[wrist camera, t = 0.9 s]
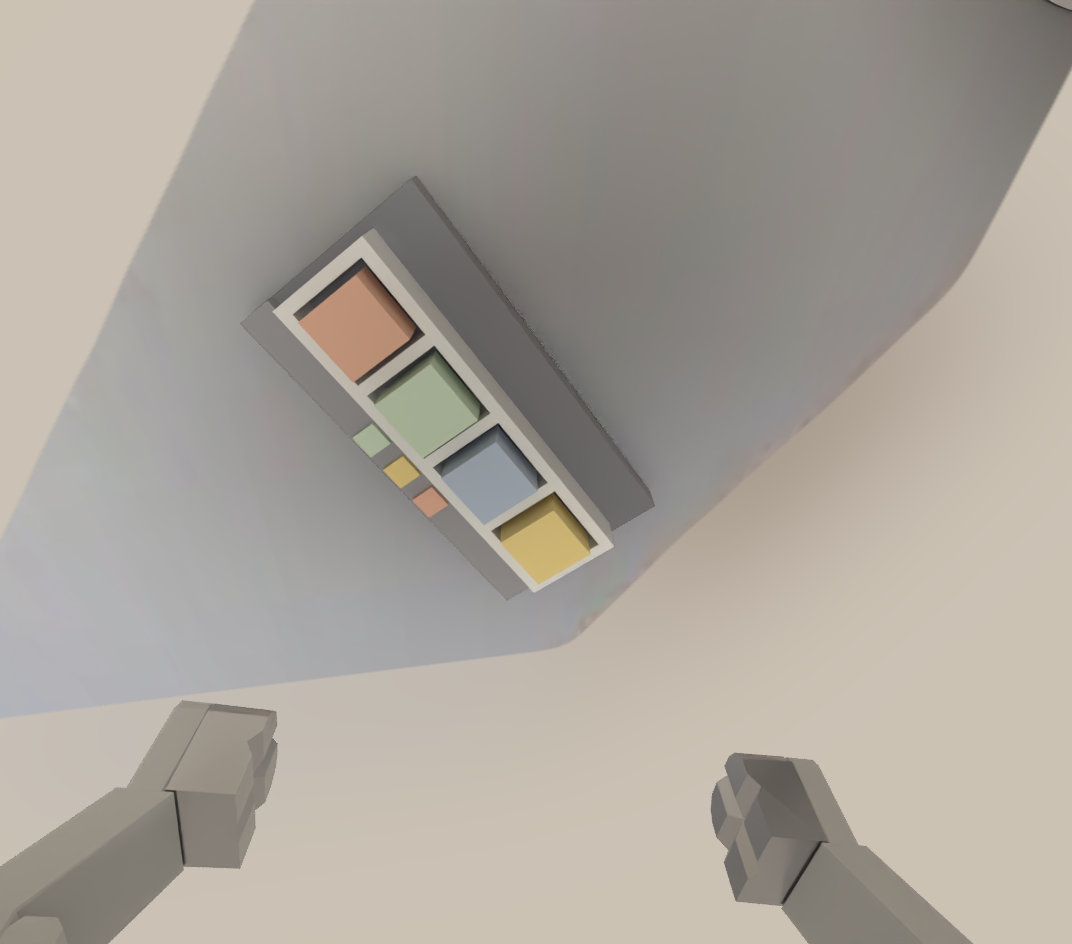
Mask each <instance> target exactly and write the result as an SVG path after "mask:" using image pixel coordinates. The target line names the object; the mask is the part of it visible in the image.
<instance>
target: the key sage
mask: <svg viewBox="0 0 1072 944" xmlns="http://www.w3.org/2000/svg"><path fill="white" fill-rule="evenodd" d="M374 406H375V407H376V408H377V409H378V411H379V412H380V413H381V414H382V415H383V416H384V417H385V418H386V419H387V420H388V421H389V422H390V424H391V425H392V426H393V427H394V428H395V429H396V430H397V431H398V432H399V433H400V434H401V436H402V437H403V438H404V439H405V440H406V441H407V442H408V443H409V444H410V445H411V446H412V448H413V449H414V450H415V451H416V452H417V453H418V454H419V455H420V456H421V457H422V458H424V457H425V456H427V455H428V454H430V453H431V452H433V451H434V450H436V449H437V448H438V447H440V446H441V445H443V444H444V443H446V442H447V441H449V440H450V439H451V438H453V437H454V436H456V435H457V434H459V433H460V432H462V431H463V430H465V429H466V428H467V427H469V426H470V425H472V424H473V423H475V422H476V421H478V416H479V410H480V403H479V402H478V401H477V400H476V398H475V397H474V396H473V395H472V394H471V392H470V391H469V390H468V389H467V388H466V386H465V385H464V384H463V383H462V382H461V380H460V379H459V378H458V377H457V375H456V374H455V373H454V372H453V371H452V369H451V368H450V367H449V366H448V365H447V363H446V362H445V361H444V360H443V359H442V357H441V356H440V355H439V354H438V353H437V351H435V352H433V353H432V354H431V355H429V356H428V357H427V358H425V359H424V360H423V361H421V362H420V363H419V364H417V365H416V366H415V367H413V368H412V369H411V370H409V371H408V372H407V373H405V374H404V375H402V376H401V377H400V378H398V379H397V380H396V381H394V382H393V383H392V384H390V385H389V386H388V387H386V388H385V389H384V390H382V392H381V394H380V396H379V398H378V400H377V401H376V403H375V405H374Z"/></svg>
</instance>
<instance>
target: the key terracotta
mask: <svg viewBox="0 0 1072 944" xmlns="http://www.w3.org/2000/svg"><path fill="white" fill-rule="evenodd" d="M298 323H299V324H300V326H301V327H302V328H303V329H304V330H305V331H306V332H307V333H308V334H309V335H310V336H311V338H312V339H313V340H314V341H315V342H316V343H317V344H318V345H319V346H320V347H321V348H322V350H323V351H324V352H325V353H326V354H327V355H328V356H329V357H330V358H331V359H332V360H333V362H334V363H335V364H336V365H337V366H338V367H339V368H340V369H341V370H342V371H343V372H344V373H345V375H346V376H347V377H348V378H349V379H350V380H351V381H352V382H355V381H356V380H357V379H359V378H360V377H361V376H363V375H364V374H365V373H367V372H368V371H369V370H370V369H372V368H373V367H374V366H376V365H377V364H378V363H380V362H381V361H382V360H384V359H385V358H386V357H388V356H389V355H390V354H392V353H393V352H394V351H395V350H397V349H398V348H399V347H401V346H402V345H403V344H405V343H406V342H407V341H409V340H410V338H411V336H412V335H413V333H414V331H415V329H416V326H415V325H414V324H413V322H412V321H411V320H410V319H409V318H408V316H407V315H406V314H405V313H404V311H403V310H402V309H401V308H400V307H399V305H398V304H397V303H396V302H395V301H394V299H393V298H392V297H391V296H390V295H389V293H388V292H387V291H386V290H385V289H384V287H383V286H382V285H381V284H380V283H379V281H378V280H377V279H376V278H375V276H374V275H373V274H372V273H371V272H370V270H369V269H368V268H367V267H366V266H365V267H364V268H363V269H362V270H361V271H359V272H358V273H357V274H356V275H354V276H353V277H352V278H351V279H350V280H348V281H347V282H346V283H345V284H344V285H342V286H341V287H340V288H339V289H337V290H336V291H335V292H334V293H333V294H331V295H330V296H329V297H328V298H327V299H325V300H324V301H323V302H322V303H320V304H319V305H318V306H317V307H316V308H314V309H313V310H312V311H311V312H310V313H308V314H307V315H306V316H305V317H304V318H303V319H302V320H300V321H299V322H298Z"/></svg>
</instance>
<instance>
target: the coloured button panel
mask: <svg viewBox="0 0 1072 944" xmlns="http://www.w3.org/2000/svg"><path fill="white" fill-rule="evenodd" d="M365 266H366V267H367V268H368V269H369V270H370V272H371V273H372V274H373V275H374V276H375V278H376V279H377V280H378V281H379V283H380V284H381V285H382V286H383V287H384V289H385V290H386V291H387V292H388V293H389V295H390V296H391V297H392V298H393V299H394V301H395V302H396V303H397V304H398V305H399V307H400V308H401V309H402V310H403V311H404V313H405V314H406V315H407V316H408V318H409V319H410V320H411V321H412V322H413V324H414V325H415V326H416V329H415V331H414V333H413V335H412V336H411V338H410V340H409V341H407V342H406V343H405V344H403V345H402V346H401V347H399V348H398V349H397V350H395V351H394V352H393V353H392V354H390V355H389V356H388V357H386V358H385V359H384V360H382V361H381V362H380V363H378V364H377V365H376V366H374V367H373V368H372V369H370V370H369V371H368V372H367V373H365V374H364V375H363V376H361V377H360V378H359V379H357V380H356V381H355V382H352V381H351V380H350V379H349V378H348V377H347V376H346V375H345V373H344V372H343V371H342V370H341V369H340V368H339V367H338V366H337V365H336V364H335V363H334V362H333V360H332V359H331V358H330V357H329V356H328V355H327V354H326V353H325V352H324V351H323V350H322V348H321V347H320V346H319V345H318V344H317V343H316V342H315V341H314V340H313V339H312V338H311V336H310V335H309V334H308V333H307V332H306V331H305V330H304V329H303V328H302V327H301V326H300V324H299V323H298V322H299V321H300V320H302V319H303V318H304V317H305V316H306V315H307V314H308V313H310V312H311V311H312V310H313V309H314V308H316V307H317V306H318V305H319V304H320V303H322V302H323V301H324V300H325V299H327V298H328V297H329V296H330V295H331V294H333V293H334V292H335V291H336V290H337V289H339V288H340V287H341V286H342V285H344V284H345V283H346V282H347V281H348V280H350V279H351V278H352V277H353V276H354V275H356V274H357V273H358V272H359V271H361V270H362V269H363V268H364V267H365ZM240 324H241V325H242V326H243V327H244V328H245V329H246V331H247V332H248V333H249V334H250V335H251V336H252V337H253V338H254V339H255V340H256V341H257V342H258V343H259V344H260V345H261V346H262V347H263V348H264V349H265V350H266V351H267V352H268V353H269V354H270V355H271V356H272V357H273V358H274V360H275V361H276V362H277V363H278V364H279V365H280V366H281V367H282V368H283V369H284V370H285V371H286V372H287V373H288V374H289V375H290V376H291V377H292V378H293V379H294V380H295V381H296V382H297V383H298V384H299V385H300V386H301V388H302V389H303V390H304V391H305V392H306V393H307V394H308V395H309V396H310V397H311V398H312V399H313V400H314V401H315V402H316V403H317V404H318V405H319V406H320V407H321V408H322V409H323V410H324V411H325V412H326V413H327V414H328V415H329V417H330V418H331V419H332V420H333V421H334V422H335V423H336V424H337V425H338V426H339V427H340V428H341V429H342V430H343V431H344V432H345V433H346V434H347V435H348V436H349V437H350V438H351V439H352V440H353V441H354V442H355V443H356V445H357V446H358V447H359V448H360V449H361V450H362V451H363V452H364V453H365V454H366V455H367V456H368V457H369V458H370V459H371V460H372V461H373V462H374V463H375V464H376V465H377V466H378V467H379V468H380V469H381V470H382V471H383V472H384V474H385V475H386V476H387V477H388V478H389V479H390V480H391V481H392V482H393V483H394V484H395V485H396V486H397V487H398V488H399V489H400V490H401V491H402V492H403V493H404V494H405V495H406V496H407V497H408V498H409V499H410V500H411V502H412V503H413V504H414V505H415V506H416V507H417V508H418V509H419V510H420V511H421V512H422V513H423V514H424V515H425V516H426V517H427V518H428V519H429V520H430V521H431V522H432V523H433V524H434V525H435V526H436V527H437V528H438V530H439V531H440V532H441V533H442V534H443V535H444V536H445V537H446V538H447V539H448V540H449V541H450V542H451V543H452V544H453V545H454V546H455V547H456V548H457V549H458V550H459V551H460V552H461V553H462V554H463V555H464V556H465V557H466V559H467V560H468V561H469V562H470V563H471V564H472V565H473V566H474V567H475V568H476V569H477V570H478V571H479V572H480V573H481V574H482V575H483V576H484V577H485V578H486V579H487V580H488V581H489V582H490V583H491V584H492V585H493V587H494V588H495V589H496V590H497V591H498V592H499V593H500V594H501V595H502V596H503V597H504V598H505V599H506V600H508V599H510V598H512V597H514V596H515V595H517V594H519V593H520V592H522V591H524V590H526V589H527V588H530V589H531V590H532V591H533V592H534V593H535V592H536V591H538V590H540V589H542V588H543V587H545V586H547V585H549V584H550V583H552V582H554V581H555V580H557V579H559V578H561V577H562V576H564V575H566V574H568V573H569V572H571V571H573V570H575V569H576V568H578V567H580V566H582V565H583V564H585V563H587V562H588V561H590V560H592V559H594V558H595V557H597V556H599V555H601V554H602V553H604V552H606V551H608V550H609V549H611V548H613V547H614V542H613V537H612V532H611V531H613V530H614V529H616V528H618V527H619V526H621V525H623V524H625V523H626V522H628V521H630V520H631V519H633V518H635V517H636V516H638V515H640V514H642V513H643V512H645V511H647V510H648V509H650V508H652V507H654V506H655V505H654V502H653V499H652V496H651V493H650V491H649V490H648V488H647V487H646V486H645V484H644V483H643V482H642V480H641V479H640V478H639V476H638V475H637V474H636V472H635V471H634V470H633V468H632V467H631V466H630V464H629V463H628V461H627V460H626V459H625V457H624V456H623V455H622V453H621V452H620V451H619V449H618V448H617V447H616V445H615V444H614V443H613V441H612V440H611V438H610V437H609V436H608V434H607V433H606V432H605V430H604V429H603V428H602V426H601V425H600V424H599V422H598V421H597V420H596V418H595V417H594V416H593V414H592V413H591V411H590V410H589V409H588V407H587V406H586V405H585V403H584V402H583V401H582V399H581V398H580V397H579V395H578V394H577V393H576V391H575V390H574V388H573V387H572V386H571V384H570V383H569V382H568V380H567V379H566V378H565V376H564V375H563V374H562V372H561V371H560V370H559V368H558V367H557V366H556V364H555V363H554V361H553V360H552V359H551V357H550V356H549V355H548V353H547V352H546V351H545V349H544V348H543V347H542V345H541V344H540V343H539V341H538V340H537V339H536V337H535V336H534V334H533V333H532V332H531V330H530V329H529V328H528V326H527V325H526V324H525V322H524V321H523V320H522V318H521V317H520V316H519V314H518V313H517V311H516V310H515V309H514V307H513V306H512V305H511V303H510V302H509V301H508V299H507V298H506V297H505V295H504V294H503V293H502V291H501V290H500V289H499V287H498V286H497V284H496V283H495V282H494V280H493V279H492V278H491V276H490V275H489V274H488V272H487V271H486V270H485V268H484V267H483V266H482V264H481V263H480V261H479V260H478V259H477V257H476V256H475V255H474V253H473V252H472V251H471V249H470V248H469V247H468V245H467V244H466V243H465V241H464V240H463V239H462V237H461V236H460V234H459V233H458V232H457V230H456V229H455V228H454V226H453V225H452V224H451V222H450V221H449V220H448V218H447V217H446V216H445V214H444V213H443V212H442V210H441V209H440V207H439V206H438V205H437V203H436V202H435V201H434V199H433V198H432V197H431V195H430V194H429V193H428V191H427V190H426V189H425V187H424V186H423V184H422V183H421V182H420V180H419V179H418V178H417V176H416V177H414V178H412V179H410V180H409V181H408V182H407V183H405V184H404V185H403V186H402V187H401V188H400V189H398V190H397V191H396V192H395V193H394V194H393V195H391V196H390V197H389V198H388V199H387V200H386V201H384V202H383V203H382V204H381V205H380V206H378V207H377V208H376V209H375V210H374V211H373V212H371V213H370V214H369V215H368V216H367V217H366V218H364V219H363V220H362V221H361V222H360V223H359V224H357V225H356V226H355V227H354V228H353V229H352V230H350V231H349V232H348V233H347V234H346V235H344V236H343V237H342V238H341V239H340V240H339V241H337V242H336V243H335V244H334V245H333V246H332V247H330V248H329V249H328V250H327V251H326V252H325V253H323V254H322V255H321V256H320V257H319V258H317V259H316V260H315V261H314V262H313V263H312V264H310V265H309V266H308V267H307V268H306V269H305V270H303V271H302V272H301V273H300V274H299V275H298V276H296V277H295V278H294V279H293V280H292V281H291V282H289V283H288V284H287V285H286V286H285V287H283V288H282V289H281V290H280V291H279V292H278V293H276V294H275V295H274V296H273V297H271V298H270V299H268V300H267V301H266V302H265V303H263V304H262V305H261V306H260V307H259V308H258V309H256V310H255V311H254V312H253V313H252V314H251V315H249V316H248V317H247V318H246V319H245V320H244V321H242V322H241V323H240ZM435 351H437V353H438V354H439V355H440V356H441V357H442V359H443V360H444V361H445V362H446V363H447V365H448V366H449V367H450V368H451V369H452V371H453V372H454V373H455V374H456V375H457V377H458V378H459V379H460V380H461V382H462V383H463V384H464V385H465V386H466V388H467V389H468V390H469V391H470V392H471V394H472V395H473V396H474V397H475V398H476V400H477V401H478V402H479V403H480V410H479V416H478V421H476V422H475V423H473V424H472V425H470V426H469V427H467V428H466V429H465V430H463V431H462V432H460V433H459V434H457V435H456V436H454V437H453V438H451V439H450V440H449V441H447V442H446V443H444V444H443V445H441V446H440V447H438V448H437V449H436V450H434V451H433V452H431V453H430V454H428V455H427V456H425V457H424V458H422V457H421V456H420V455H419V454H418V453H417V452H416V451H415V450H414V449H413V448H412V446H411V445H410V444H409V443H408V442H407V441H406V440H405V439H404V438H403V437H402V436H401V434H400V433H399V432H398V431H397V430H396V429H395V428H394V427H393V426H392V425H391V424H390V422H389V421H388V420H387V419H386V418H385V417H384V416H383V415H382V414H381V413H380V412H379V411H378V409H377V408H376V407H375V406H374V405H375V403H376V401H377V400H378V398H379V396H380V394H381V392H382V390H384V389H385V388H386V387H388V386H389V385H390V384H392V383H393V382H394V381H396V380H397V379H398V378H400V377H401V376H402V375H404V374H405V373H407V372H408V371H409V370H411V369H412V368H413V367H415V366H416V365H417V364H419V363H420V362H421V361H423V360H424V359H425V358H427V357H428V356H429V355H431V354H432V353H433V352H435ZM497 425H498V426H499V427H500V429H501V430H502V431H503V432H504V433H505V435H506V436H507V437H508V438H509V439H510V441H511V442H512V443H513V444H514V446H515V447H516V448H517V449H518V450H519V452H520V453H521V454H522V455H523V456H524V458H525V459H526V460H527V461H528V462H529V464H530V465H531V466H532V467H533V468H534V470H535V471H536V472H537V488H538V491H537V492H536V493H534V494H533V495H531V496H530V497H528V498H526V499H525V500H523V501H522V502H520V503H518V504H517V505H515V506H514V507H512V508H510V509H509V510H507V511H506V512H504V513H502V514H501V515H499V516H498V517H496V518H495V519H493V520H491V521H490V522H488V523H487V524H485V525H483V524H482V523H481V522H480V520H479V519H478V518H477V517H476V516H475V515H474V514H473V513H472V512H471V511H470V510H469V508H468V507H467V506H466V505H465V504H464V503H463V502H462V501H461V500H460V499H459V498H458V497H457V495H456V494H455V493H454V492H453V491H452V490H451V489H450V488H449V487H448V486H447V485H446V483H445V482H444V481H443V480H442V479H441V477H442V473H443V469H444V465H445V460H447V459H448V458H450V457H451V456H453V455H454V454H456V453H457V452H459V451H460V450H462V449H463V448H465V447H466V446H467V445H469V444H470V443H472V442H473V441H475V440H476V439H478V438H479V437H481V436H482V435H484V434H485V433H487V432H488V431H490V430H491V429H493V428H494V427H495V426H497ZM551 493H554V494H555V495H556V496H557V497H558V499H559V500H560V501H561V502H562V503H563V505H564V506H565V507H566V508H567V510H568V511H569V512H570V513H571V514H572V516H573V517H574V518H575V519H576V520H577V522H578V523H579V524H580V525H581V526H582V528H583V529H584V530H585V531H586V532H587V534H588V540H589V547H590V555H589V556H587V557H585V558H583V559H582V560H580V561H578V562H576V563H575V564H573V565H571V566H570V567H568V568H566V569H564V570H563V571H561V572H559V573H557V574H556V575H554V576H552V577H551V578H549V579H547V580H545V581H544V582H542V583H540V584H539V585H538V584H537V583H536V581H535V580H534V579H533V578H532V577H531V576H530V575H529V574H528V573H527V572H526V571H525V569H524V568H523V567H522V566H521V565H520V564H519V563H518V562H517V561H516V560H515V559H514V557H513V556H512V555H511V554H510V553H509V552H508V551H507V550H506V549H505V548H504V547H503V545H502V544H501V543H500V541H501V524H503V523H505V522H506V521H508V520H509V519H511V518H513V517H514V516H516V515H517V514H519V513H521V512H522V511H524V510H525V509H527V508H529V507H530V506H532V505H533V504H535V503H537V502H538V501H540V500H541V499H543V498H545V497H546V496H548V495H549V494H551Z"/></svg>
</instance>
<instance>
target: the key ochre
mask: <svg viewBox="0 0 1072 944" xmlns="http://www.w3.org/2000/svg"><path fill="white" fill-rule="evenodd" d="M500 543H501V544H502V545H503V547H504V548H505V549H506V550H507V551H508V552H509V553H510V554H511V555H512V556H513V557H514V559H515V560H516V561H517V562H518V563H519V564H520V565H521V566H522V567H523V568H524V569H525V571H526V572H527V573H528V574H529V575H530V576H531V577H532V578H533V579H534V580H535V581H536V583H537V584H538V585H539V584H540V583H542V582H544V581H545V580H547V579H549V578H551V577H552V576H554V575H556V574H557V573H559V572H561V571H563V570H564V569H566V568H568V567H570V566H571V565H573V564H575V563H576V562H578V561H580V560H582V559H583V558H585V557H587V556H589V555H590V547H589V540H588V534H587V532H586V531H585V530H584V529H583V528H582V526H581V525H580V524H579V523H578V522H577V520H576V519H575V518H574V517H573V516H572V514H571V513H570V512H569V511H568V510H567V508H566V507H565V506H564V505H563V503H562V502H561V501H560V500H559V499H558V497H557V496H556V495H555V494H554V493H551V494H549V495H548V496H546V497H545V498H543V499H541V500H540V501H538V502H537V503H535V504H533V505H532V506H530V507H529V508H527V509H525V510H524V511H522V512H521V513H519V514H517V515H516V516H514V517H513V518H511V519H509V520H508V521H506V522H505V523H503V524H501V541H500Z"/></svg>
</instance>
